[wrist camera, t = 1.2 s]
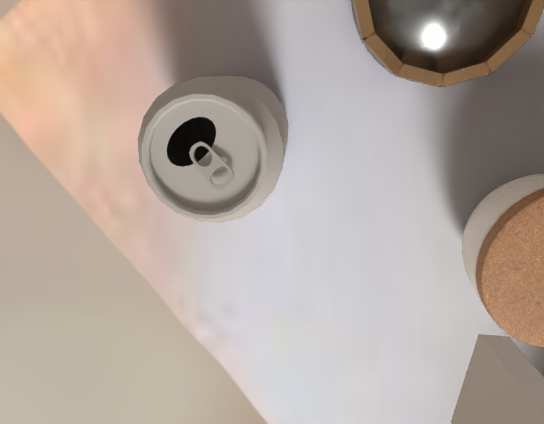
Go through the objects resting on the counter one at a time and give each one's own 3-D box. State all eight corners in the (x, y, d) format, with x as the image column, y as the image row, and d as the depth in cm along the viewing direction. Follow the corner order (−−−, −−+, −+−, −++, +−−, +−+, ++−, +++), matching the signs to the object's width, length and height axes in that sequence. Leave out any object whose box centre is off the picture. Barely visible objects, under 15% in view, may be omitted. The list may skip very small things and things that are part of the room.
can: (238, 51, 30) (201, 39, 19) (310, 131, 32) (315, 165, 20) (166, 125, 32) (93, 154, 21) (237, 198, 34) (204, 262, 22)
